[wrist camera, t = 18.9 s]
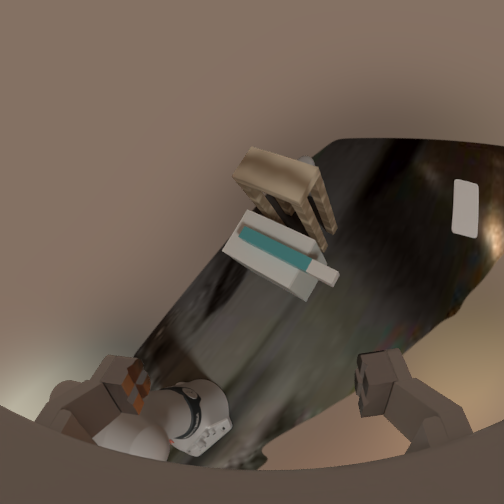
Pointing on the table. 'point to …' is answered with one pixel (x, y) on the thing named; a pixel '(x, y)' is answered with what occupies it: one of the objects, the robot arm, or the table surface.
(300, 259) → the marker
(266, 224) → the white rectangular block
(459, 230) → the smartphone
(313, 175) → the wooden stand
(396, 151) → the table surface
